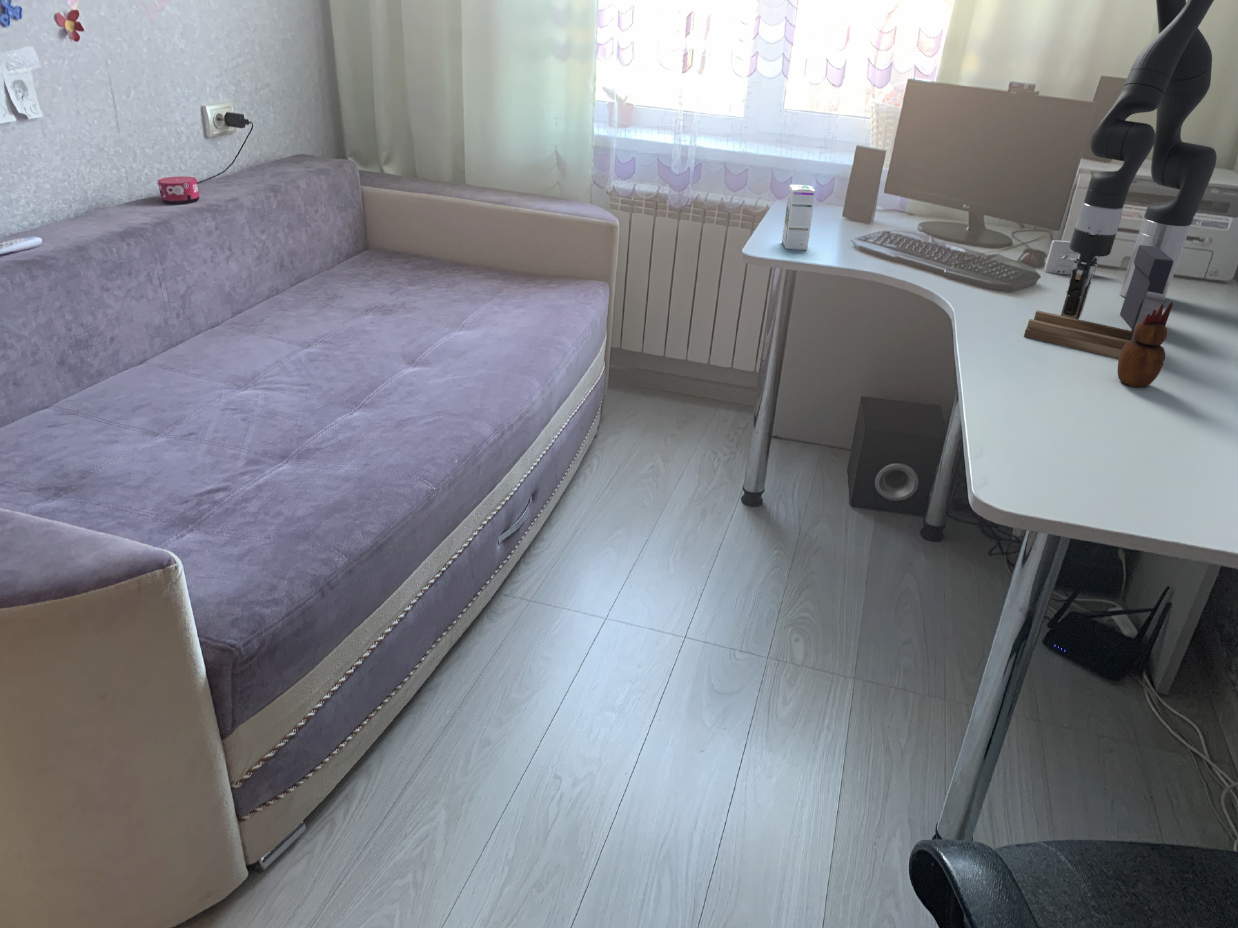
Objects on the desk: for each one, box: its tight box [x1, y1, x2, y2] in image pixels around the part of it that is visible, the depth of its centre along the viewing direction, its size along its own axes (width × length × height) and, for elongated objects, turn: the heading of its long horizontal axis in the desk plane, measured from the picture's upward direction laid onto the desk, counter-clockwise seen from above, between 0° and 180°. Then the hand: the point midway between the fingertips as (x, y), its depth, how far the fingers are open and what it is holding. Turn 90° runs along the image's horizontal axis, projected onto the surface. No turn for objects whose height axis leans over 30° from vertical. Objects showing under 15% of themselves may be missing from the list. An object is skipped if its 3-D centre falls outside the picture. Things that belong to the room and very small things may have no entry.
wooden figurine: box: [1116, 301, 1174, 388], centre depth 161 cm, size 7×6×15 cm
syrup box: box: [781, 184, 816, 251], centre depth 229 cm, size 6×6×14 cm
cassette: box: [1043, 239, 1101, 276], centre depth 224 cm, size 12×2×8 cm, turn 89°
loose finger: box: [1060, 278, 1092, 320], centre depth 190 cm, size 4×3×10 cm
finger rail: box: [1023, 291, 1166, 359], centre depth 179 cm, size 10×23×12 cm, turn 57°
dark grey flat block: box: [1119, 245, 1174, 329], centre depth 190 cm, size 11×4×15 cm, turn 168°
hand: (1071, 311), depth 191 cm, fingers open, 4 cm apart
